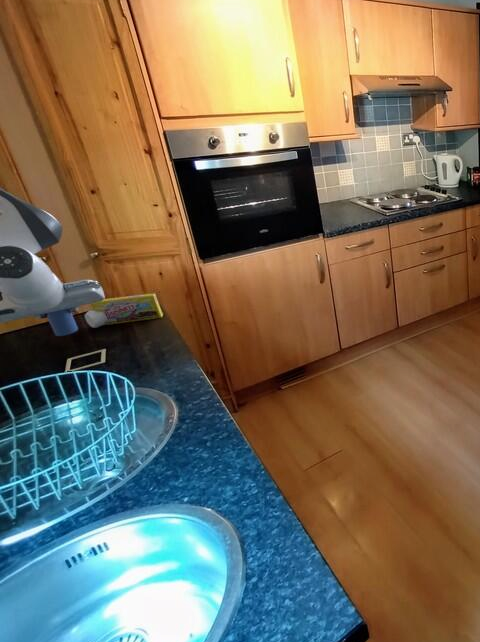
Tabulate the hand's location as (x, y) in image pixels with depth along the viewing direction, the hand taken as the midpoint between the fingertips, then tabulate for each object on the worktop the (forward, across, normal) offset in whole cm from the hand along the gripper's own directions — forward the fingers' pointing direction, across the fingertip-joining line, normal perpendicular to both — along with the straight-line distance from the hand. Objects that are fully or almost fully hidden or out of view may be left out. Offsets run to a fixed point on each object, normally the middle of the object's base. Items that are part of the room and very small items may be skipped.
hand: (58, 312), depth 115 cm
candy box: (+26, -11, -3) cm, 28 cm away
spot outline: (+12, -1, +10) cm, 16 cm away
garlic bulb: (+27, -4, -5) cm, 28 cm away
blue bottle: (+3, 0, +4) cm, 5 cm away
